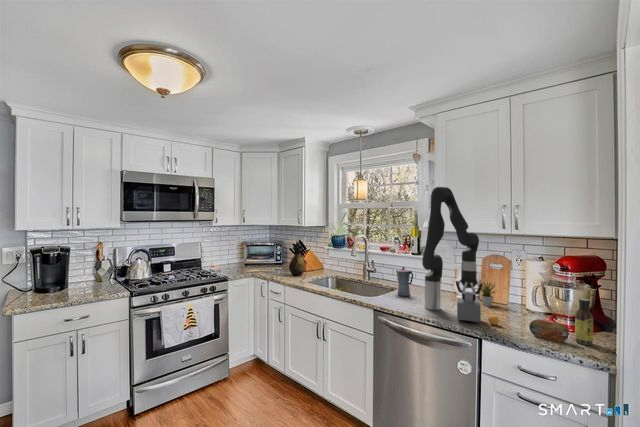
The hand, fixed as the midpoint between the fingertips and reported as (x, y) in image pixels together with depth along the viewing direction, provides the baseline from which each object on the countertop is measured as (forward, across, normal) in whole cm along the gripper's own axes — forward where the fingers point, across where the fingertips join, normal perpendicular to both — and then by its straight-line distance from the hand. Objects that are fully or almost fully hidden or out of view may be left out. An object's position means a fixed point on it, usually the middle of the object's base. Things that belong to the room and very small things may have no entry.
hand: (468, 300), depth 173 cm
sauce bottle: (+12, +48, -9) cm, 50 cm away
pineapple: (+10, -147, +69) cm, 162 cm away
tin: (+12, +34, -10) cm, 37 cm away
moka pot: (+11, -42, +41) cm, 60 cm away
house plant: (+11, +12, +40) cm, 44 cm away
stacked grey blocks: (+9, 0, 0) cm, 9 cm away
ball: (+9, +12, 0) cm, 15 cm away
